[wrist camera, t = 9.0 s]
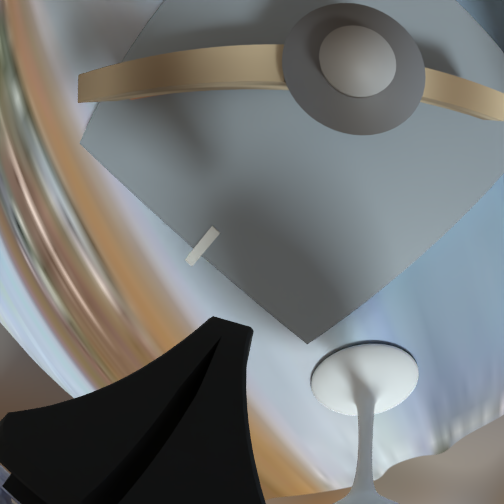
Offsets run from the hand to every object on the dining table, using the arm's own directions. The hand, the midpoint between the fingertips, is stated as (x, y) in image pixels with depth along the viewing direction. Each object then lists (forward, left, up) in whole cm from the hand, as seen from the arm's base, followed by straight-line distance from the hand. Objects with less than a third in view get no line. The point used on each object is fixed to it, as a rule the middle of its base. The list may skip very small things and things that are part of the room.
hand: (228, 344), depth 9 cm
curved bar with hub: (+5, -7, -8) cm, 12 cm away
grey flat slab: (+4, -7, -9) cm, 12 cm away
